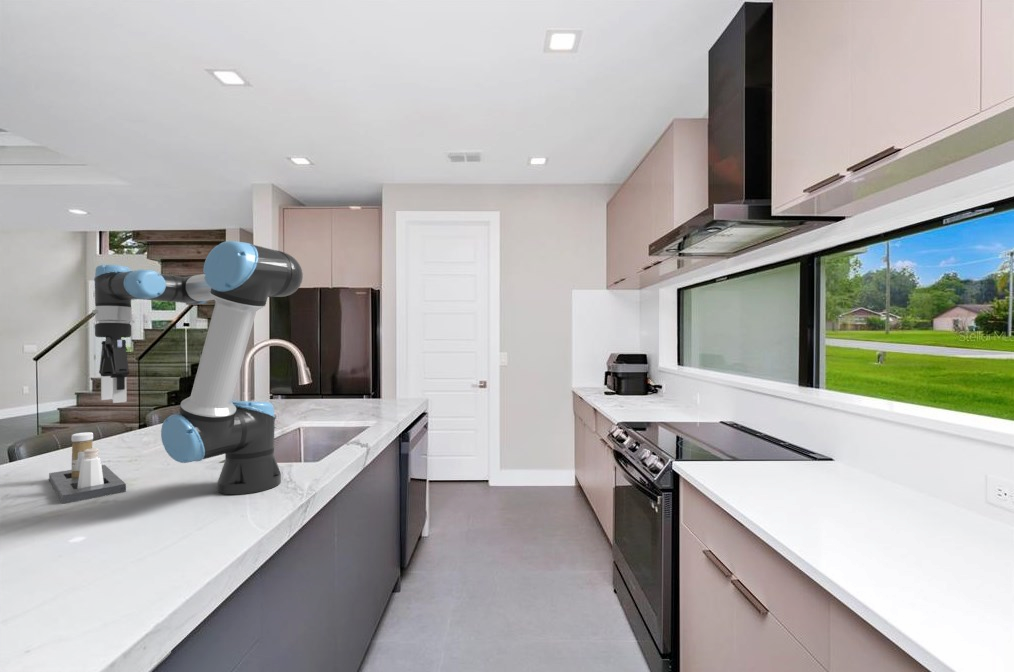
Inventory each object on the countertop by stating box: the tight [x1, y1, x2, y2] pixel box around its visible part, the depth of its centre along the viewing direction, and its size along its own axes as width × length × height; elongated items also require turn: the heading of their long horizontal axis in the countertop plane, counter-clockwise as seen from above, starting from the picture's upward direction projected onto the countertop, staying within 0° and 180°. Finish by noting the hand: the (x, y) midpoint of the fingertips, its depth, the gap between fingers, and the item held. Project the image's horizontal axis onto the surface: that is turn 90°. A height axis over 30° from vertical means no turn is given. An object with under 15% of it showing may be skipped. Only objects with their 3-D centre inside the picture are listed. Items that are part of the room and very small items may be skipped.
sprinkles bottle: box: [70, 431, 94, 478], centre depth 130 cm, size 5×5×14 cm
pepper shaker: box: [77, 447, 104, 489], centre depth 121 cm, size 5×5×11 cm
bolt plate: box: [48, 464, 127, 505], centre depth 125 cm, size 30×12×2 cm, turn 49°
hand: (113, 401), depth 124 cm, fingers open, 13 cm apart
